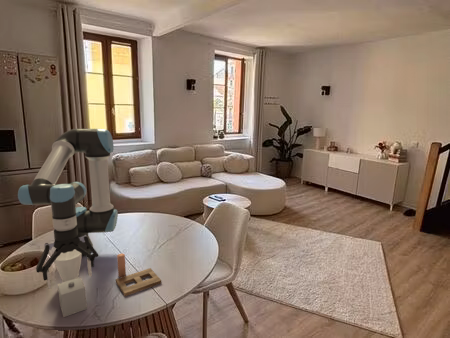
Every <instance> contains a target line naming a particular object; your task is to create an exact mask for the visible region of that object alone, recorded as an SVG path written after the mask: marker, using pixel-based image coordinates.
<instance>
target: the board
mask: <svg viewBox="0 0 450 338" xmlns="http://www.w3.org/2000/svg"><path fill="white" fill-rule="evenodd" d="M147 277H148V279H146V280H143V279H144V278H147ZM133 282H134V284H132V285H131V283H133ZM115 283H116V285H117V287H118V288H119V289H120V292H122V295H123V296H124V297H128V296H130V295H133V294H136V293H139V292H141V291H144V290H147V289H149V288H153V287H155V286H158V285H161V284H162V279H161V278H160V277H159V276H158V275H157V273H156V272H154V271H153V269H152V268H151V267H150V268H146V269H143V270H140V271H138V272H135V273H131V274H127V275H126V276H124V277H119V278H116V279H115ZM126 284H130V285H129V286H127V285H126Z"/></svg>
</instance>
